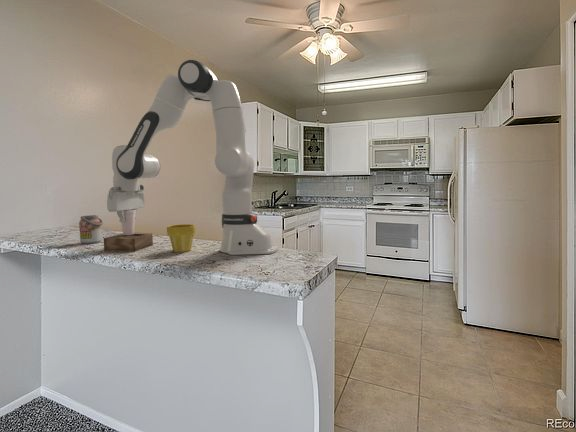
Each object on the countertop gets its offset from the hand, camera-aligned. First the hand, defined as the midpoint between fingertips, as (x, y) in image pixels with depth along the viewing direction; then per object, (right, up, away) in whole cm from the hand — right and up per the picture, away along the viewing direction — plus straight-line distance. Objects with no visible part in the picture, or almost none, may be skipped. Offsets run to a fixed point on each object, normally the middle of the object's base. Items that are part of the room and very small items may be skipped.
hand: (128, 220), depth 132 cm
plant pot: (+24, -12, -5) cm, 27 cm away
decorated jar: (-23, -10, +14) cm, 29 cm away
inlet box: (0, -11, +1) cm, 11 cm away
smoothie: (0, -6, +1) cm, 6 cm away
